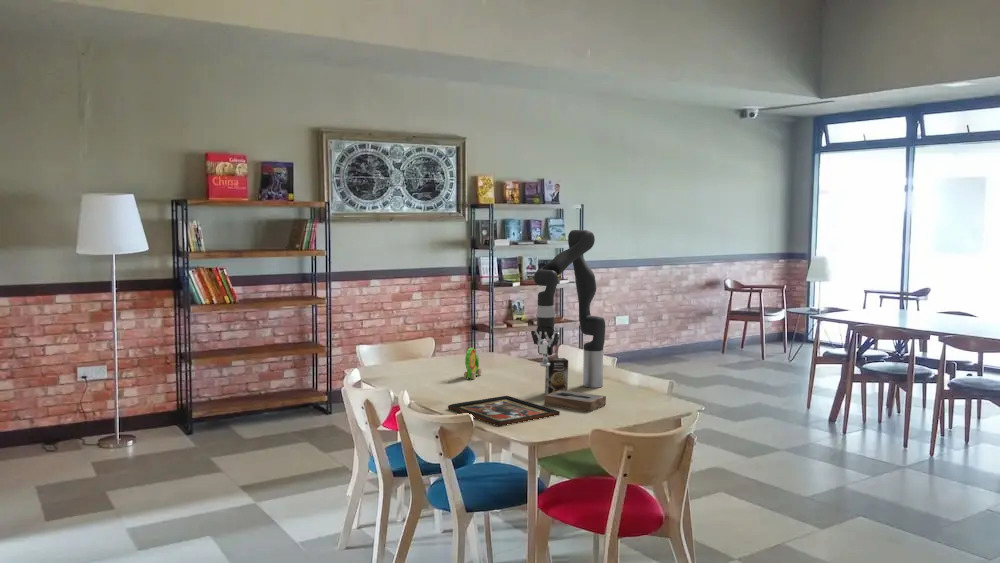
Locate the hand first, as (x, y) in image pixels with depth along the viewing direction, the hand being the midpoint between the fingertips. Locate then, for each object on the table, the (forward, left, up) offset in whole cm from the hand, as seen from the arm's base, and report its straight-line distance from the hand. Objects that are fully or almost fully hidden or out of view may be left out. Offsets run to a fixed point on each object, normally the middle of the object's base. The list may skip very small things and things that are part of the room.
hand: (545, 354), depth 353 cm
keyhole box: (+2, +16, -20) cm, 26 cm away
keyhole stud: (0, 0, -5) cm, 5 cm away
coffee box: (-12, -1, -20) cm, 23 cm away
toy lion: (-21, -54, -20) cm, 61 cm away
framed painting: (+30, -2, -21) cm, 36 cm away
